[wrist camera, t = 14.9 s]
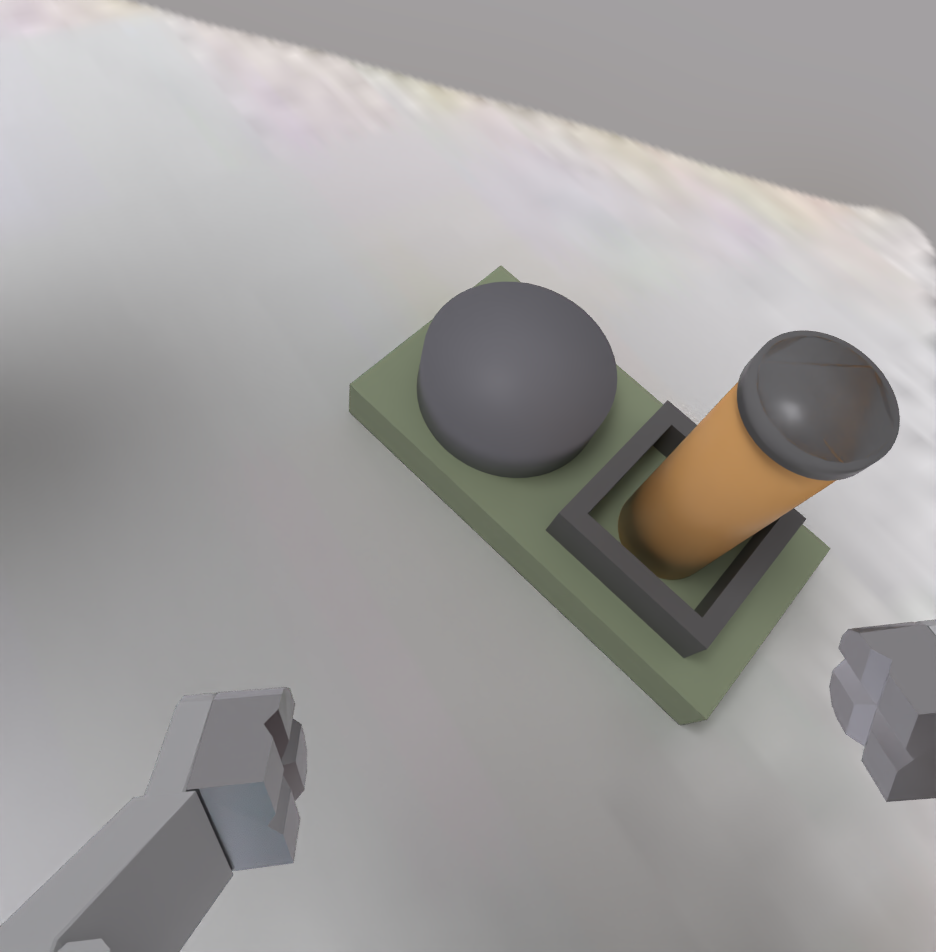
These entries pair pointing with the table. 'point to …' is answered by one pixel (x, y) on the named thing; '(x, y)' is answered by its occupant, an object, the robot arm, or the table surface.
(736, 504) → the orange pill bottle
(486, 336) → the green slab
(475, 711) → the table surface
